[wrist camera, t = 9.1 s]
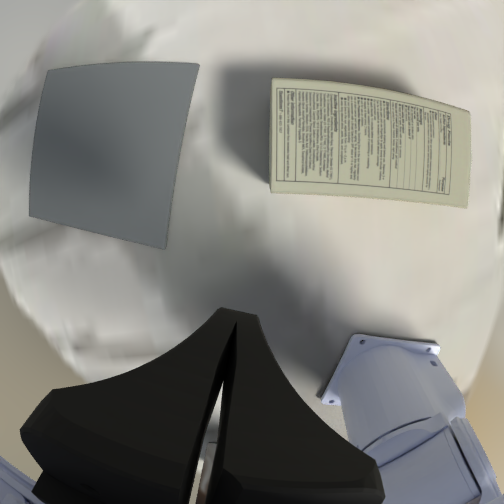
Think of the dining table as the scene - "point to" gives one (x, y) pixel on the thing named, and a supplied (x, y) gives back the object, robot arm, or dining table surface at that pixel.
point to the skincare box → (367, 143)
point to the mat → (111, 147)
